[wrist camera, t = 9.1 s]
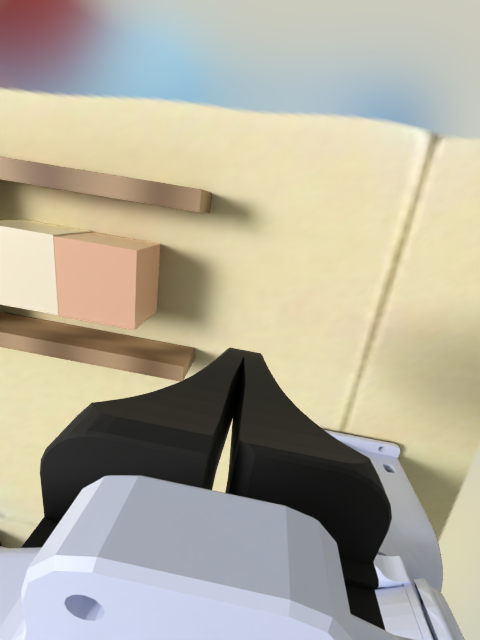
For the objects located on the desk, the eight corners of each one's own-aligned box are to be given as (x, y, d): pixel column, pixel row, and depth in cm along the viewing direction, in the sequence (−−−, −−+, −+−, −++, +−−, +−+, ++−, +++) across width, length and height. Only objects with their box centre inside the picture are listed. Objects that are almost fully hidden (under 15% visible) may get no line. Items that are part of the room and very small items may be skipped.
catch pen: (211, 192, 19) (201, 189, 16) (193, 361, 24) (182, 381, 21) (-41, 151, 20) (-92, 141, 17) (-14, 322, 24) (-51, 337, 21)
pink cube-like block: (161, 243, 21) (136, 250, 17) (157, 310, 23) (134, 329, 19) (92, 232, 21) (53, 236, 17) (93, 299, 23) (58, 316, 19)
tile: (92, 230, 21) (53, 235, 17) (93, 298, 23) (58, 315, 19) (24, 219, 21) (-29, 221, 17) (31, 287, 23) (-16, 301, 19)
